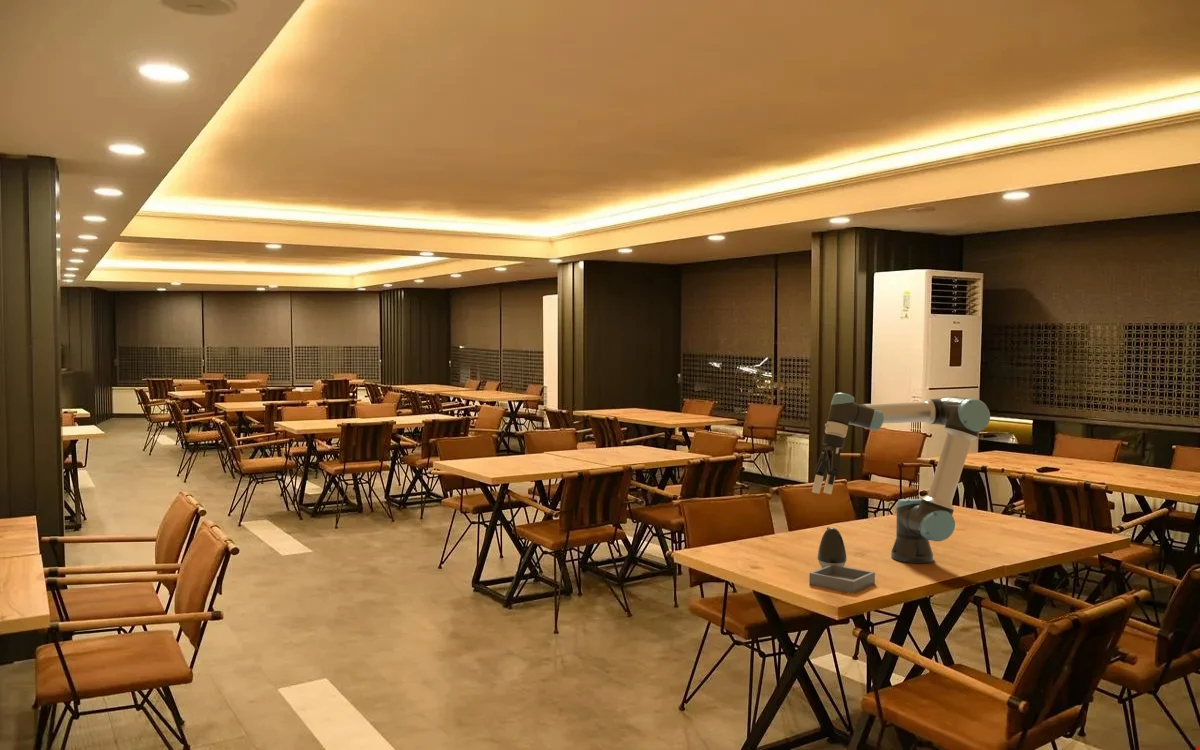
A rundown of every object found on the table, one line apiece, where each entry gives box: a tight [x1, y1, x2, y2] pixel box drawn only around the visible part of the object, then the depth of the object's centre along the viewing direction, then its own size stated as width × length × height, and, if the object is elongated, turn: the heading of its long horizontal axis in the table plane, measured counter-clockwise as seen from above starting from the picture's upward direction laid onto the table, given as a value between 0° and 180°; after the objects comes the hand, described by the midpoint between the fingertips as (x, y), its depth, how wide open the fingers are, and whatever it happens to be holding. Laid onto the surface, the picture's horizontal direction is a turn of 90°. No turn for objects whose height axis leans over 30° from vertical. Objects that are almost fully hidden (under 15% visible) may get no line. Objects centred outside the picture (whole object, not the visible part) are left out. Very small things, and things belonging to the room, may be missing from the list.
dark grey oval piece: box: [817, 527, 848, 568], centre depth 309 cm, size 10×10×15 cm
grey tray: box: [808, 564, 876, 594], centre depth 290 cm, size 16×16×4 cm
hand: (821, 493), depth 302 cm, fingers open, 13 cm apart
